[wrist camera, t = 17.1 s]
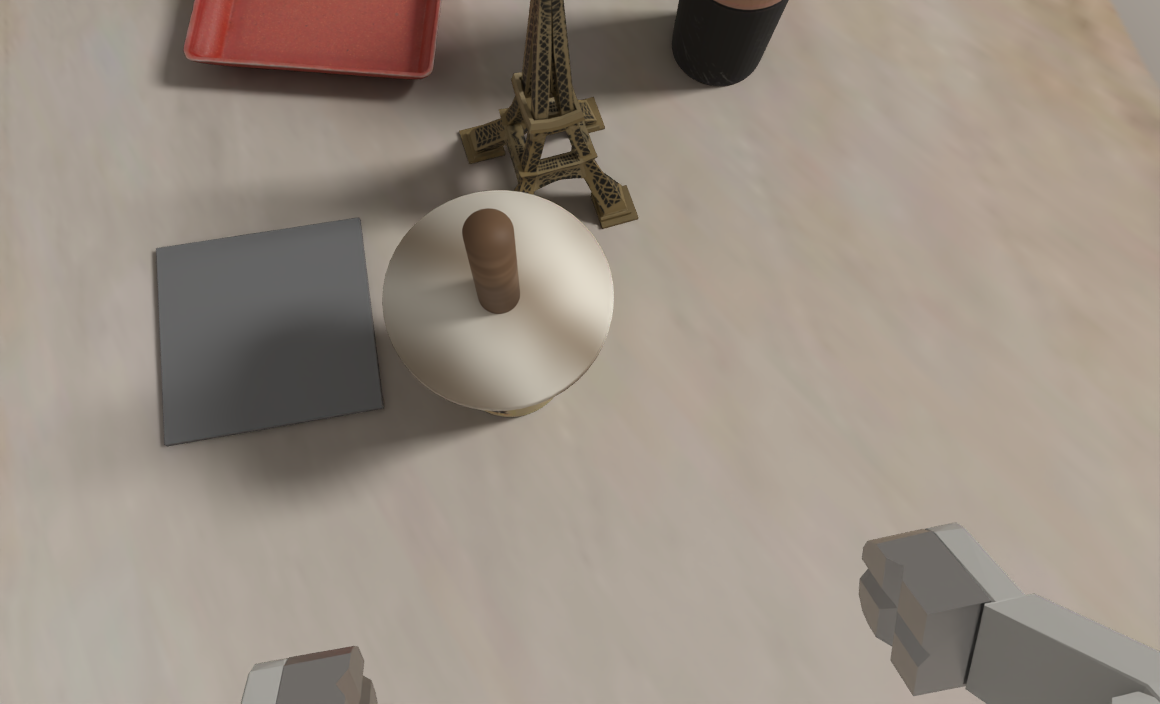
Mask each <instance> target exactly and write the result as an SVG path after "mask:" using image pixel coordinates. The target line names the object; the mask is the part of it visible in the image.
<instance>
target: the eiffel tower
mask: <svg viewBox="0 0 1160 704" xmlns="http://www.w3.org/2000/svg"><path fill="white" fill-rule="evenodd" d="M511 81H512V85H513V88H514V92H515V97H514V100H513V102H512V105H511V106H510V107H509V108H505V109H499V113H500V116H501V118H500V119H498V120H495V121H492V122H489V123H487V124H484V125H481V126H477V127H473V128H469V129H465V130H461V131H459V132H460V136H461V139H462V142H463V145H464V149H465V152H466V155H467V158H468V161H469V164H471V163H475V162H479V161H483V160H487V159H491V158H495V157H498V156H502V155H505V150H504V147H503V146H504V145H507V148H508V150H509V153H510V156H511V159H512V163H513V166H514V170H515V173H516V177H517V181H518V185H517V187H516V188H515V190H514V191H517V192H523V193H527V194H532V195H534V191H536V190H538V189H540V188H542V187H544V186H546V185H548V184H550V183H552V182H555V181H558V180H562V179H572V178H584V179H585V181H586V183H587V184H588V186H589V188H590V190H591V192H592V193H591V198H592V201H593V204H594V206H595V209H596V212H597V215H598V218H599V221H600V223H601V226H602V229H604V228H608V227H612V226H615V225H619V224H623V223H626V222H630V221H633V220H637V219H638V215H637V212H636V210H635V207H634V204H633V201H632V199H631V196H630V193H629V191H628V188H627V185H625V186H622V185H620V184H619V183H618V182H616V181H615V180H613V179H612V178H611V177H609V176H608V175H606V174H605V173H603V172H602V171H601V169H600V167H599V166H598V164H597V163H596V161H595V160H594V159H595V158H597V154H596V152H595V149H594V147H593V144H592V142H591V139H590V136H589V133H591V132H595V131H599V130H603V129H605V126H604V123H603V121H602V118H601V115H600V113H599V110H598V107H597V105H596V102H595V99H594V97H591V98H587V99H583V100H577V97H576V94H575V92H574V89H573V86H572V79H571V69H570V59H569V49H568V39H567V29H566V20H565V10H564V0H530V9H529V18H528V27H527V35H526V43H525V52H524V60H523V69H522V72H520V73H514V74H513V76H512V78H511ZM551 97H553V98H551ZM563 131H566V132H567V135H568V137H569V140H570V143H571V145H572V149H571V152H567V153H563V154H559V155H556V156H552V157H548V158H544V159H540V158H541V154H542V150H543V146H544V142H545V138H546V136H547V135H551V134H555V133H559V132H563ZM527 132H528V133H527ZM526 133H527V138H526V140H525V137H524V134H526Z"/></svg>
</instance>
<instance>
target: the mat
mask: <svg viewBox="0 0 1160 704" xmlns="http://www.w3.org/2000/svg"><path fill="white" fill-rule="evenodd" d="M156 254H157V277H158V301H159V324H160V348H161V372H162V395H163V419H164V443H165V445H166V446H171V445H177V444H183V443H188V442H194V441H200V440H205V439H211V438H217V437H222V436H228V435H234V434H240V433H245V432H251V431H257V430H262V429H268V428H274V427H279V426H285V425H291V424H297V423H302V422H308V421H314V420H319V419H325V418H331V417H336V416H342V415H348V414H354V413H359V412H365V411H371V410H376V409H382V408H384V407H383V399H382V391H381V383H380V375H379V367H378V358H377V350H376V342H375V334H374V326H373V318H372V310H371V302H370V293H369V285H368V277H367V269H366V261H365V253H364V245H363V236H362V228H361V220H360V218H352V219H346V220H339V221H332V222H326V223H319V224H313V225H306V226H299V227H293V228H286V229H280V230H273V231H267V232H260V233H253V234H247V235H240V236H234V237H227V238H221V239H214V240H207V241H201V242H194V243H188V244H181V245H175V246H168V247H161V248H156Z"/></svg>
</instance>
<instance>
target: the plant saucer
mask: <svg viewBox="0 0 1160 704" xmlns="http://www.w3.org/2000/svg"><path fill="white" fill-rule="evenodd" d="M441 1H442V0H195V1H194V5H193V11H192V14H191V18H190V22H189V26H188V30H187V35H186V39H185V44H184V49H183V52H184V54H185V57H186V58H187V59H188V60H191V61H195V62H199V63H206V64H214V65H223V66H236V67H250V68H262V69H263V68H264V69H278V70H293V71H306V72H319V73H332V74H345V75H359V76H372V77H384V78H399V79H422V78H425V77H427V76H429V75H430V74H431V72H432V71H433V66H434V58H435V50H436V41H437V33H438V25H439V17H440V9H441Z"/></svg>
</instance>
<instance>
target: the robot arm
mask: <svg viewBox="0 0 1160 704" xmlns="http://www.w3.org/2000/svg"><path fill="white" fill-rule="evenodd" d="M862 560H863V561H864V563H865V564H866V566H867V567H868V569H867V571H866V572H865V573H864V574H863V575H862V577H861V578H860V581H859V598H860V602H861V607H862V611H863V614H864V616H865V618H866V621H867V623H868V625H869V626H870V628H871V630H872V631H873V633H874V635H875V636H876V637H877V638H878V639H880V640H882V641H884V642H885V643H887V644H889V645H891V646H892V652H891V662H892V664H893V665H894V667H895V668H896V670H897V671H898V673H899V675H900V676H901V678H902V679H903V681H904V682H905V684H906V686H907V687H908V689H909V690H910V692H911V693H912V695H913V696H916V695H922V694H927V693H932V692H937V691H942V690H947V689H953V688H958V687H963V686H966V690H968V691H969V692H971V693H972V694H974V695H975V696H976V697H978V698H979V699H981V700H982V701H984V702H985V703H986V704H1160V651H1158V650H1156V649H1153V648H1151V647H1149V646H1147V645H1145V644H1143V643H1141V642H1138V641H1136V640H1134V639H1132V638H1130V637H1128V636H1125V635H1123V634H1121V633H1119V632H1117V631H1115V630H1112V629H1110V628H1108V627H1106V626H1104V625H1102V624H1100V623H1097V622H1095V621H1093V620H1091V619H1089V618H1087V617H1084V616H1082V615H1080V614H1078V613H1076V612H1074V611H1072V610H1069V609H1067V608H1065V607H1063V606H1061V605H1059V604H1056V603H1054V602H1052V601H1050V600H1048V599H1046V598H1043V597H1041V596H1039V595H1037V594H1035V593H1034V594H1029V595H1025V594H1024V592H1023V591H1022V590H1021V589H1020V588H1019V587H1018V586H1017V585H1016V584H1015V583H1014V581H1013V580H1012V579H1011V578H1010V577H1009V576H1008V575H1007V574H1006V573H1005V572H1004V570H1003V569H1002V568H1001V567H1000V566H999V565H998V564H997V563H996V562H995V561H994V559H993V558H992V557H991V556H990V555H989V554H988V553H987V552H986V551H985V550H984V548H983V547H982V546H981V545H980V544H979V543H978V542H977V541H976V540H975V539H974V537H973V536H972V535H971V534H970V533H969V532H968V531H967V530H966V529H965V528H964V527H963V526H962V525H960V524H958V523H956V522H955V523H950V524H945V525H940V526H936V527H931V528H926V529H920V530H915V531H910V532H906V533H901V534H897V535H892V536H887V537H883V538H878V539H873V540H869V541H867V542H866V544H865V545H864V547H863V553H862ZM363 669H364V659H363V657H362V654H361V652H360V649H359V647H358V646H351V647H345V648H340V649H334V650H328V651H323V652H317V653H311V654H306V655H300V656H294V657H289V658H286V659H280V660H275V661H269V662H264V663H258V664H255V665H254V667H253V668H252V670H251V671H250V673H249V674H248V678H247V682H246V685H245V689H244V693H243V697H242V701H241V704H378V702H377V697H376V692H375V689H374V686H373V683H372V680H370V679H368V678H367V677H365V676H363Z"/></svg>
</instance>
